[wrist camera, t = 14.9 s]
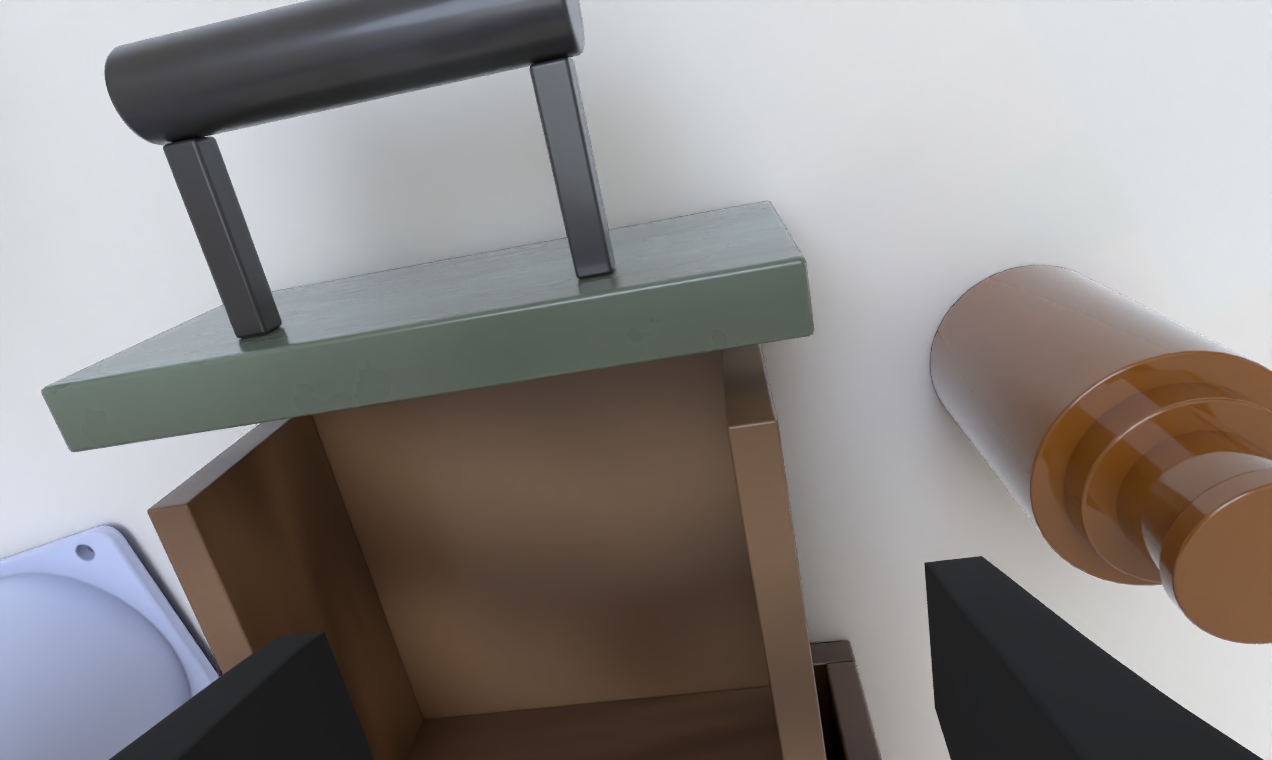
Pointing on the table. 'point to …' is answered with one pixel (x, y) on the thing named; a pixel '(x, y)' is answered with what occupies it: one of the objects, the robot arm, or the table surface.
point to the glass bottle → (1120, 438)
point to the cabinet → (842, 704)
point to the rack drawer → (475, 425)
